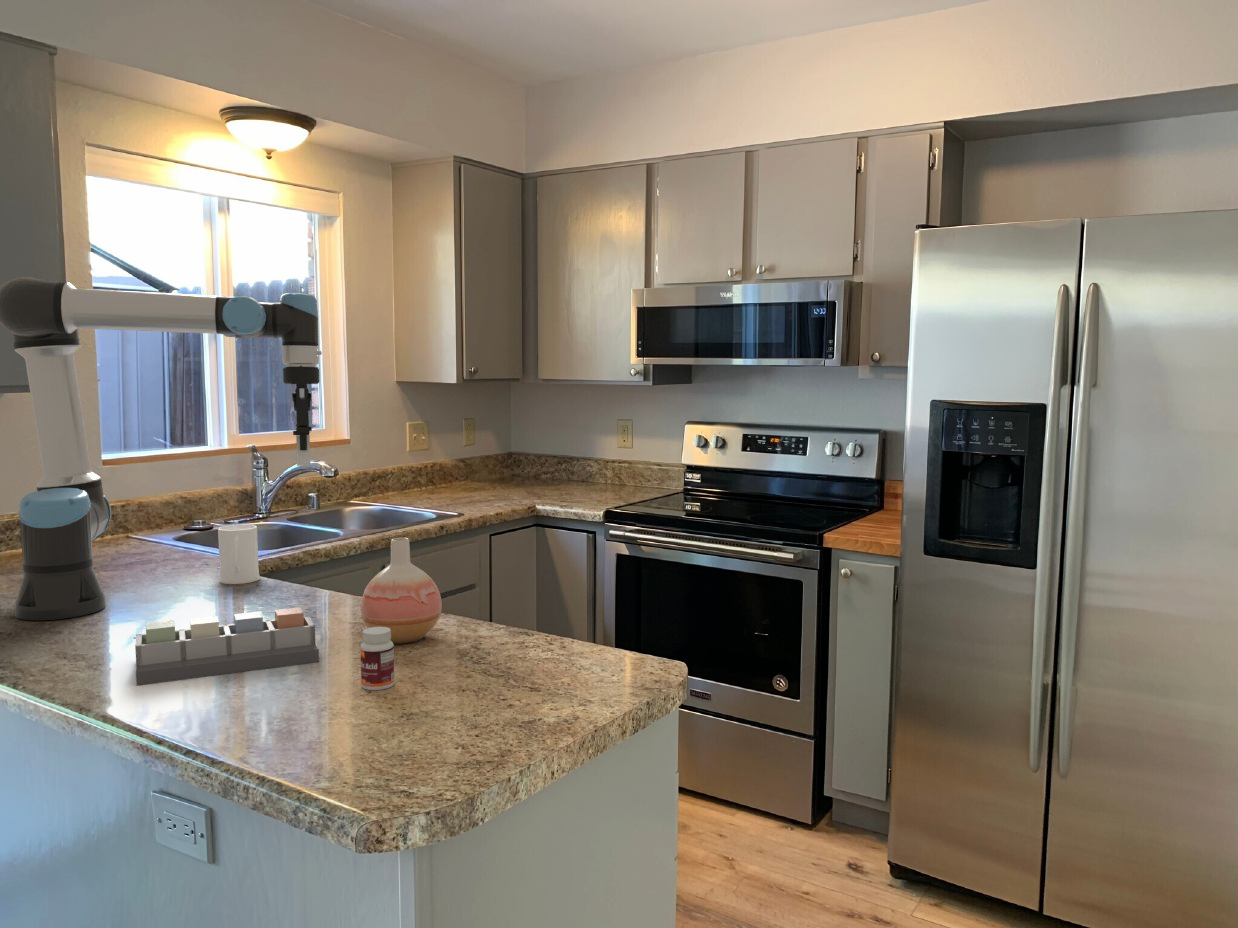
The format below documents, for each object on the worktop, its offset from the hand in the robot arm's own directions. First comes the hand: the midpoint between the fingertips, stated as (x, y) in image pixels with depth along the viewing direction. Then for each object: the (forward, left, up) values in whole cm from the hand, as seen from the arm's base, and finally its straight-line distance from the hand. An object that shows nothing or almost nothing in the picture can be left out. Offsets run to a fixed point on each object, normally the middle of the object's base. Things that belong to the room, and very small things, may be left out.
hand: (303, 463), depth 206 cm
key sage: (-29, -55, -22) cm, 66 cm away
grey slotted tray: (-20, -55, -27) cm, 64 cm away
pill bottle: (-1, -78, -27) cm, 83 cm away
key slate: (-17, -55, -23) cm, 62 cm away
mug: (-14, +7, -27) cm, 31 cm away
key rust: (-10, -55, -22) cm, 60 cm away
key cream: (-23, -55, -23) cm, 64 cm away
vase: (+8, -55, -27) cm, 62 cm away
